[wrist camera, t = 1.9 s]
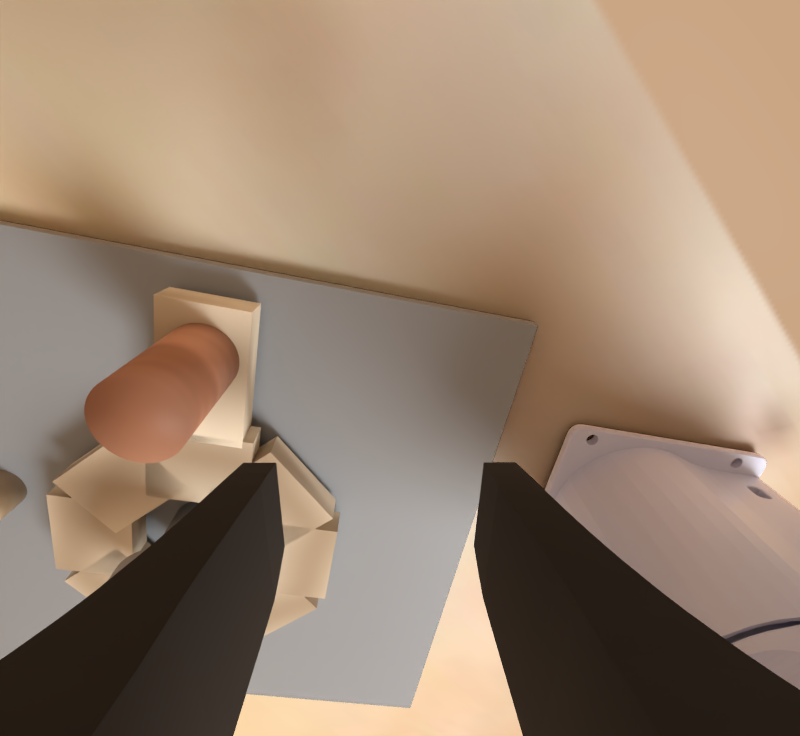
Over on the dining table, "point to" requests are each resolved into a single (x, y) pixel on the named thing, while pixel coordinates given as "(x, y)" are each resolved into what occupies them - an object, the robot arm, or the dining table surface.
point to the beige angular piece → (185, 451)
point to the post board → (277, 416)
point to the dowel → (10, 492)
